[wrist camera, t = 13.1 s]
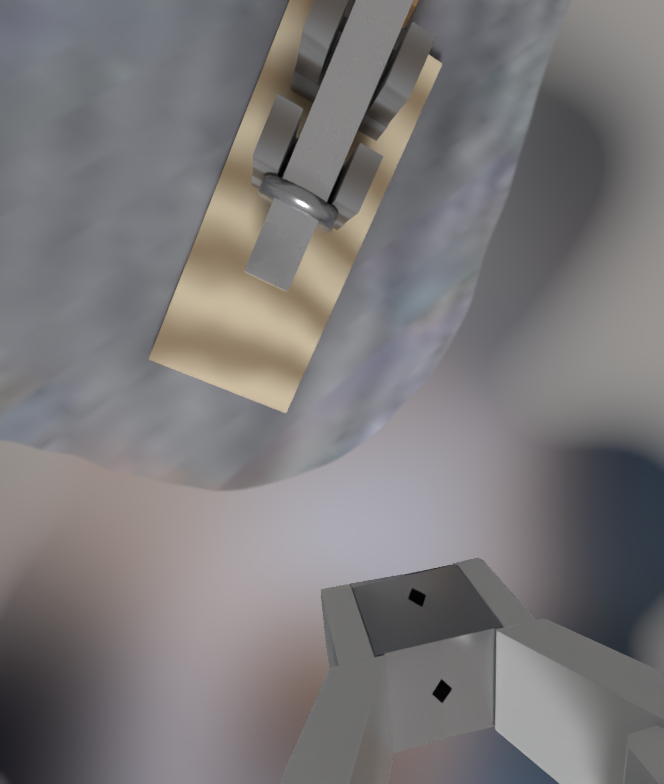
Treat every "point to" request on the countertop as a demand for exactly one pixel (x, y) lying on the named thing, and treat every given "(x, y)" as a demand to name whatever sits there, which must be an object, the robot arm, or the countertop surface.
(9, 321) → the countertop surface
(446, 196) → the countertop surface
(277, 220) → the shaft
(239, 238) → the wooden board
